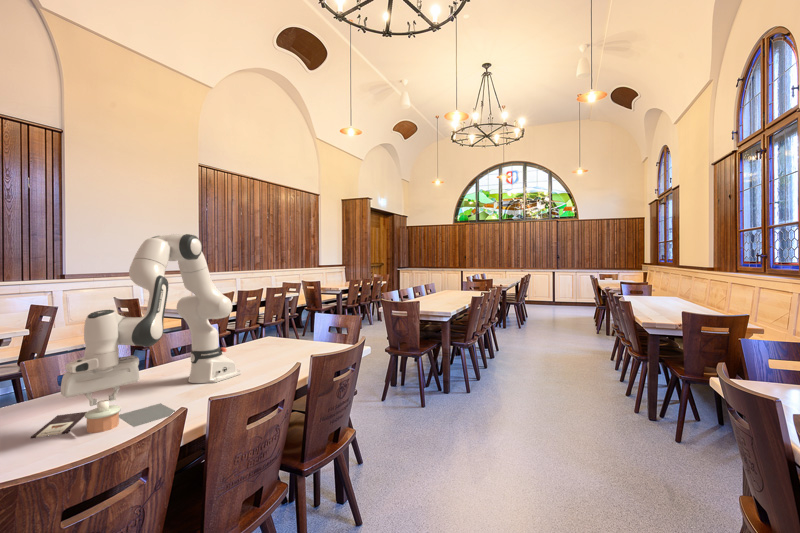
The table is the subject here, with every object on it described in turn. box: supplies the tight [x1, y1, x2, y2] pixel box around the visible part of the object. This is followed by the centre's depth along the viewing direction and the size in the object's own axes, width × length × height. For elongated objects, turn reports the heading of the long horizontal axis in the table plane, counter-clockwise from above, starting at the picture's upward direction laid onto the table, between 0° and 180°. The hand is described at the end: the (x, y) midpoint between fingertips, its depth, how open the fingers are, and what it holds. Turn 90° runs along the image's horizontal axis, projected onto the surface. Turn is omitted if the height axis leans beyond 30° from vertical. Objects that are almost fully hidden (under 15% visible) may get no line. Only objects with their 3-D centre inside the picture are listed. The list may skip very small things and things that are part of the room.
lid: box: [84, 399, 122, 420], centre depth 123 cm, size 9×9×4 cm
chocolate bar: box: [30, 411, 87, 439], centre depth 127 cm, size 9×1×18 cm
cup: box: [86, 412, 120, 434], centre depth 123 cm, size 8×8×5 cm
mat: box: [119, 403, 176, 428], centre depth 134 cm, size 14×16×1 cm
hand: (102, 402), depth 123 cm, fingers open, 4 cm apart
